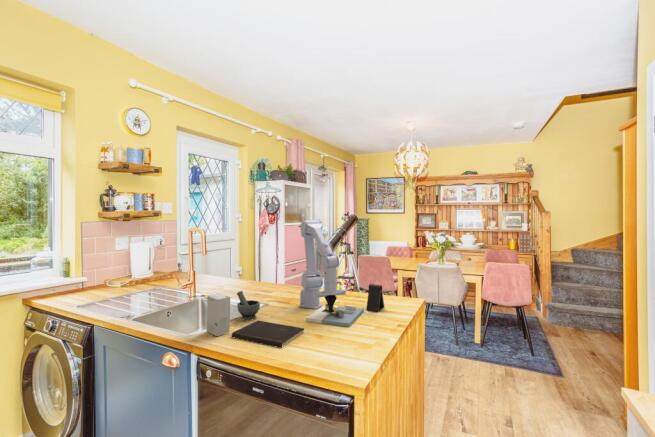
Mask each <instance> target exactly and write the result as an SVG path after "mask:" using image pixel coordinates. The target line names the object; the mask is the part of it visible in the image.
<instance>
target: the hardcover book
mask: <svg viewBox="0 0 655 437" xmlns="http://www.w3.org/2000/svg"><path fill="white" fill-rule="evenodd" d="M304 330H305V328H303V327H298V326H293V325H292V326H291V325H288V324H287V325H286V324H281V323H274V322H269V321H264V320H256V321H253V322H252V323H249V324H248V325H246V326H243V327H241V328H239V329H236V330H235V331H232V333H231V338H232V337H235V338H234V339H236V338H239V339H238V340H241V339H244V340H243V341H246V340H249V341H248V342H251V341H253V342H252V343H255V342H257V343H256V344H260V343H262V344H261V345H265V344H266V345H265V346H270V345H271V347H274V346H277V347H276V348H279V347H281V349H282V348H283V347H285V346H286V345H288V344H290V343H291V342H292V341H294V340H296V337H297V338H298V337H299V336H301V335H302V334H303V333H304ZM293 339H294V340H293ZM290 341H291V342H290ZM287 343H288V344H287ZM284 345H285V346H284ZM282 346H283V347H282Z"/></svg>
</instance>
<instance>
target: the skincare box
mask: <svg viewBox="0 0 655 437" xmlns="http://www.w3.org/2000/svg"><path fill="white" fill-rule="evenodd" d="M206 301H207V302H206V303H207V304H206V330H207V331H206V330H205V331H206V333H208V332H209V334H210V333H211V335H212V334H213V336H214V335H215V337H216V336H218V337H220V335H221V336H224V335H223V334H225V333H228V332H229V333H230V326H231V325H230V322H231V321H230V320H231V296H228V295H226V294H223V293H215V294H208V295H207V299H206ZM229 333H228V334H229ZM225 335H226V334H225Z"/></svg>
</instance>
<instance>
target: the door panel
mask: <svg viewBox="0 0 655 437" xmlns="http://www.w3.org/2000/svg"><path fill="white" fill-rule="evenodd" d="M337 309H339V310H341V311H343V312H344V317H338V316H336V315H334V314H333V313H331V314H330V315H328V316H327V317H326V318H325V319H323V323H322V325H331V326H337V327H346V328H350V327H351V326H352V325H353V324H354V323H355V322H356V321H357V320H358V318H360V317H361V315H362V314H363V313H364V308H362V307H361V308H359V307H357V306H356V305H350V304H349V305H348V304H346V305H345V306H344V305H342V306H341V305H339V307H338V308H337Z"/></svg>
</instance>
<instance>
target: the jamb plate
mask: <svg viewBox="0 0 655 437" xmlns="http://www.w3.org/2000/svg"><path fill="white" fill-rule="evenodd" d="M325 305H326V304H325ZM325 305H322V306H320V307H319V308H317V309H316V310H315V312H313V313H312V314H310V315H309V316H307V317H306V321H305V322H308V323H315V324H316V323H317V324H323V319H325V318H326V317H327V316H328V315H330V314H331V313H330V312H329V311H327V310H325ZM333 306H334V307H336V308H338V307H340V305H335V304H334V305H333Z"/></svg>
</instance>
